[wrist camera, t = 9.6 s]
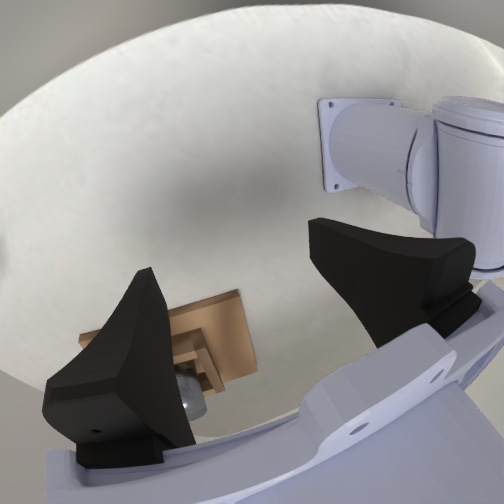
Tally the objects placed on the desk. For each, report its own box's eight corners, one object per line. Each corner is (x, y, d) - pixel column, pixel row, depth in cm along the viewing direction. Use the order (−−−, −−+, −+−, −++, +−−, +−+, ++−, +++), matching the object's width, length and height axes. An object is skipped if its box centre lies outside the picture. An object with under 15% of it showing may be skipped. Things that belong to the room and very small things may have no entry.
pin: (184, 344, 24) (195, 395, 19) (200, 365, 27) (213, 413, 22) (148, 357, 24) (153, 409, 19) (167, 378, 26) (175, 425, 21)
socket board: (236, 289, 25) (248, 314, 22) (255, 365, 31) (265, 387, 28) (79, 334, 21) (74, 362, 19) (132, 398, 28) (134, 422, 25)
